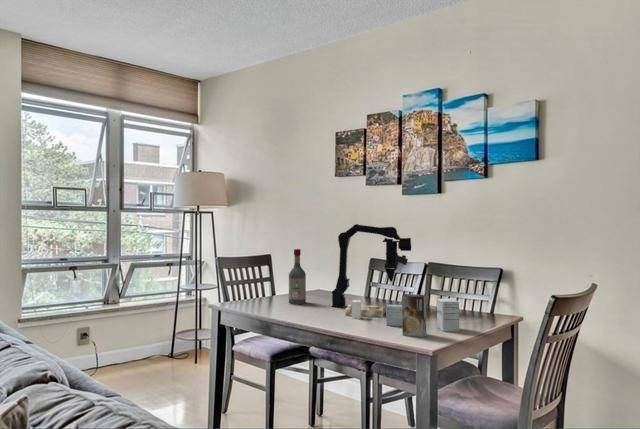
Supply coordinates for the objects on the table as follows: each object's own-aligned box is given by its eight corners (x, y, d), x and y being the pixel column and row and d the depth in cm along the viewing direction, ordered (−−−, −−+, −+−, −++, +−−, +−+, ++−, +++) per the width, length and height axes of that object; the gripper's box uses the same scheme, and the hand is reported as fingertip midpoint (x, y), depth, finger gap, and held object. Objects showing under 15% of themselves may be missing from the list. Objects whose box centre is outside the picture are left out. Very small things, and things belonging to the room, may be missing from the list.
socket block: (345, 315, 233) (345, 308, 233) (348, 310, 246) (348, 304, 246) (382, 317, 230) (382, 310, 230) (384, 311, 243) (384, 305, 243)
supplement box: (436, 327, 208) (436, 298, 208) (453, 327, 208) (453, 298, 208) (442, 331, 200) (442, 301, 200) (459, 331, 201) (459, 301, 201)
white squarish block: (351, 318, 227) (351, 301, 227) (352, 316, 231) (352, 300, 231) (360, 318, 226) (360, 301, 226) (361, 317, 230) (361, 300, 230)
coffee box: (427, 333, 197) (427, 294, 197) (424, 337, 191) (424, 297, 191) (404, 332, 200) (404, 293, 200) (401, 335, 194) (401, 295, 194)
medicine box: (405, 324, 213) (405, 305, 213) (404, 327, 209) (404, 307, 209) (388, 323, 216) (388, 304, 216) (386, 325, 212) (386, 306, 212)
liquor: (305, 304, 263) (305, 249, 263) (288, 304, 263) (288, 249, 263) (305, 301, 272) (305, 248, 272) (289, 301, 272) (289, 248, 272)
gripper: (406, 252, 242) (406, 283, 242) (407, 249, 260) (407, 278, 260) (384, 251, 244) (384, 282, 244) (386, 249, 262) (386, 278, 262)
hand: (391, 280), depth 252 cm, fingers open, 9 cm apart
